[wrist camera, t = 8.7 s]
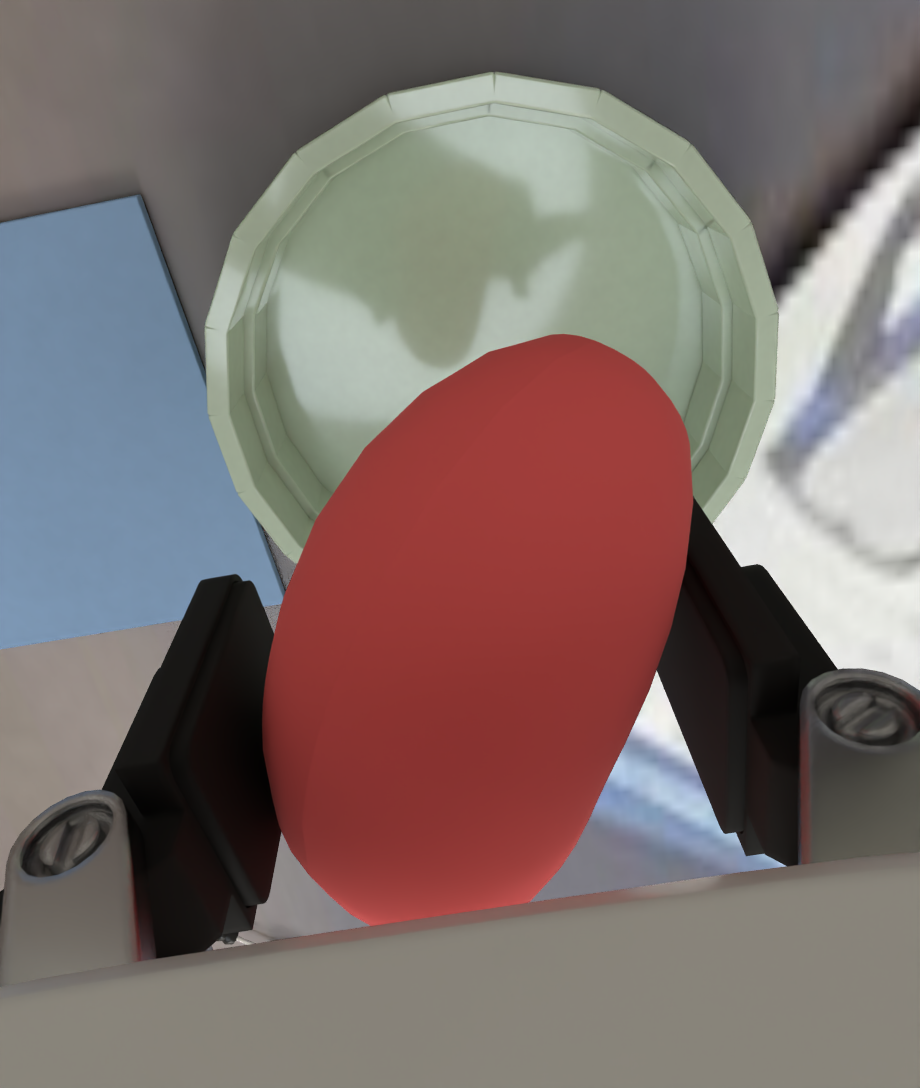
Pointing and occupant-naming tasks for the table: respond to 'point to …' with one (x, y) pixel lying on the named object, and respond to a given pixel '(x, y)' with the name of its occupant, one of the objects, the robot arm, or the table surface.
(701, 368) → the bowl
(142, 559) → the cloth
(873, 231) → the table surface
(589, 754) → the red oval piece
